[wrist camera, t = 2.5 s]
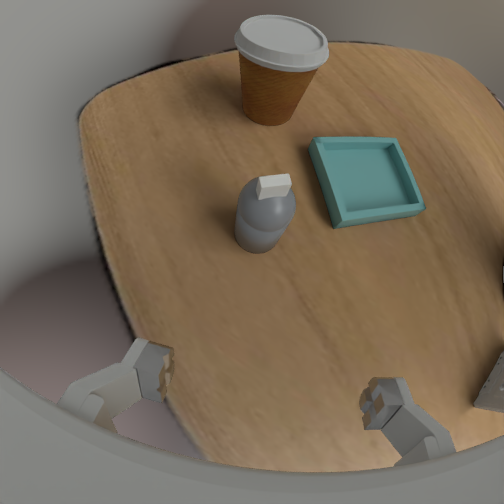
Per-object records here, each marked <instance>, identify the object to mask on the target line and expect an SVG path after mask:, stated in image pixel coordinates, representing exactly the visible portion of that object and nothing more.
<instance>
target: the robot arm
mask: <svg viewBox="0 0 504 504" xmlns="http://www.w3.org/2000/svg"><path fill="white" fill-rule="evenodd" d="M503 281H504V268H503ZM173 356H174V348H173V347H169V346H166V345H162V344H159V343H156V342H152V341H149V340H145V339H142V338H139V337H138V338H137V339H136V340H135V341H134V343H133V344H132V346H131V347H130V349H129V350H128V352H127V354H126V355H125V357H124V358H123V360H122V362H121V363H115V364H113V365H110V366H108V367H106V368H104V369H102V370H99V371H97V372H95V373H92V374H90V375H88V376H86V377H83V378H81V379H79V380H76V381H74V382H72V383H71V384H70V385H69V387H68V388H67V390H66V391H65V393H64V394H63V395H62V397H61V398H60V400H59V401H58V403H57V404H55V403H53V402H52V401H50V400H48V399H46V398H45V397H43V396H42V395H40V394H38V393H37V392H35V391H34V390H32V389H31V388H29V387H27V386H26V385H24V384H23V383H22V382H20V381H18V380H17V379H16V378H14V377H13V376H12V375H10V374H9V373H7V372H6V371H5V370H4V369H2V368H1V367H0V504H504V435H502V436H500V437H498V438H495V439H493V440H490V441H488V442H485V443H483V444H480V445H477V446H474V447H471V448H469V449H466V450H462V451H459V452H456V450H455V447H454V444H453V441H452V438H451V436H450V433H449V431H448V430H446V429H445V428H444V427H443V426H442V425H441V424H439V423H438V422H437V421H436V420H435V419H434V418H432V417H431V416H430V415H429V414H428V413H427V412H426V411H424V410H423V409H422V408H421V407H420V406H419V405H417V404H414V401H413V399H412V396H411V393H410V391H409V388H408V386H407V383H406V381H405V379H404V378H403V377H394V378H392V377H373V378H372V379H371V380H370V381H369V383H368V384H369V387H367V388H366V389H364V390H363V392H362V394H361V396H360V400H359V405H360V410H361V411H362V412H363V413H364V415H363V417H362V420H363V425H364V430H380V429H382V430H381V431H382V432H383V434H384V435H385V436H386V437H387V439H388V440H389V441H390V442H391V444H392V445H393V446H394V447H395V449H396V450H397V451H398V452H399V454H400V455H401V456H402V458H401V459H400V460H399V461H398V462H396V463H395V465H394V467H387V468H380V469H371V470H361V471H347V472H287V471H273V470H262V469H253V468H246V467H239V466H232V465H226V464H220V463H215V462H210V461H205V460H201V459H196V458H192V457H188V456H184V455H180V454H176V453H173V452H169V451H166V450H162V449H159V448H156V447H153V446H150V445H146V444H144V443H141V442H138V441H135V440H133V439H130V438H127V437H124V436H122V435H119V434H117V430H116V428H115V426H114V424H113V422H112V418H114V417H115V416H117V415H118V414H120V413H121V412H123V411H124V410H126V409H127V408H129V407H130V406H132V405H133V404H135V403H136V402H138V401H139V400H141V399H142V398H146V399H149V400H152V401H156V402H159V403H162V402H163V399H164V397H165V395H166V392H167V386H166V385H168V384H169V383H170V382H171V380H172V377H173V373H174V361H173V360H172V358H173Z"/></svg>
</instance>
